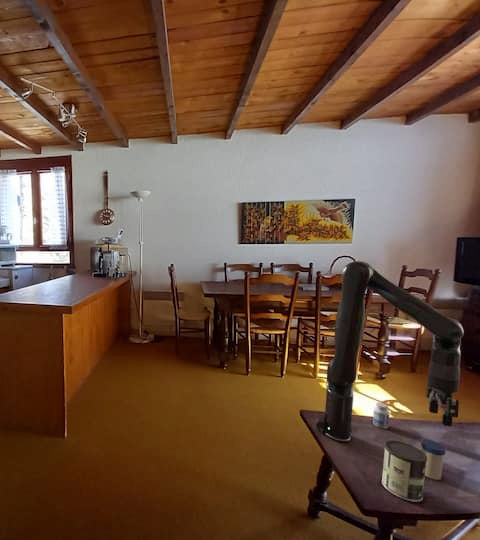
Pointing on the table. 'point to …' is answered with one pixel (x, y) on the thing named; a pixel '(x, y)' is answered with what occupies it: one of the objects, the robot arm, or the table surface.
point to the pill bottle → (381, 415)
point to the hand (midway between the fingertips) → (439, 418)
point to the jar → (433, 465)
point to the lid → (433, 447)
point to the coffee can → (404, 470)
